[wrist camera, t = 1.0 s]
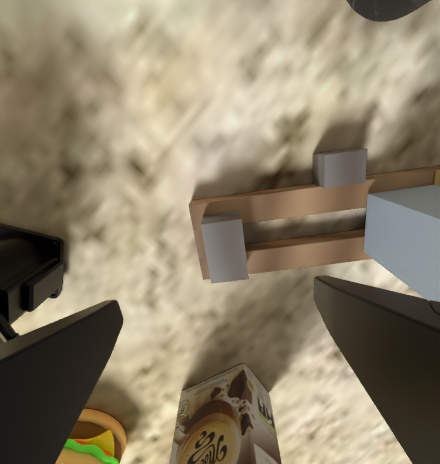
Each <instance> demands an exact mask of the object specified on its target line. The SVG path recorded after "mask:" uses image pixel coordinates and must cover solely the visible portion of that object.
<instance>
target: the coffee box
mask: <svg viewBox="0 0 440 464" xmlns="http://www.w3.org/2000/svg"><path fill="white" fill-rule="evenodd" d="M169 464H281V458H280V452H279V446H278V440H277V434H276V429H275V424H274V418H273V412H272V406H271V401H270V395H269V393H268V392H267V391H266V389H265V388H264V387H263V386H262V384H261V383H260V382H259V381H258V379H257V378H256V377H255V376H254V374H253V373H252V372H251V370H250V369H249V368H248V367H247V366H246V365H245V364H240V365H238V366H236V367H234V368H232V369H230V370H228V371H225V372H223V373H221V374H219V375H217V376H214V377H212V378H210V379H208V380H206V381H204V382H201V383H199V384H197V385H195V386H193V387H190V388H188V389H186V390H184V391H182V392H181V396H180V402H179V408H178V414H177V421H176V426H175V432H174V439H173V444H172V451H171V457H170V463H169Z"/></svg>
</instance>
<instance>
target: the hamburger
mask: <svg viewBox="0 0 440 464" xmlns="http://www.w3.org/2000/svg"><path fill="white" fill-rule="evenodd" d="M125 448H126V435H125V431H124V429H123V427H122V426H121V424H120V423H119V422H118V421H117V420H116V419H114V418H113V417H111V416H110V415H108V414H106V413H104V412H101V411H97V410H93V409H83V411H82V413H81V415H80V417H79V419H78V421H77V423H76V424H75V426H74V428H73V430H72V432H71V434H70V436H69V438H68V440H67V442H66V444H65V446H64V448H63V450H62V452H61V454H60V456H59V458H58V459H57V461H56V463H55V464H120V461H121V457H122V455H123V453H124V452H125Z"/></svg>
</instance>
